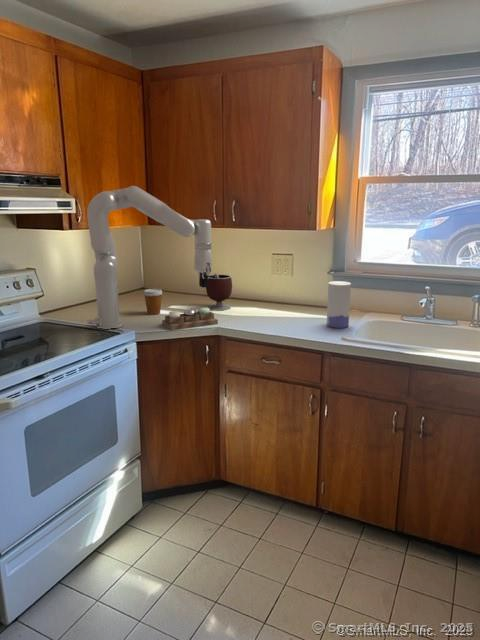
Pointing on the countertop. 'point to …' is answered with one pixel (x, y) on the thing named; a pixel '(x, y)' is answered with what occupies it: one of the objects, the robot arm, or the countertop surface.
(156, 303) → the disposable coffee cup
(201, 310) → the sage button
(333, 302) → the container
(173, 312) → the cream button
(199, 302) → the countertop surface
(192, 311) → the grey button
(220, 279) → the mate gourd
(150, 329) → the countertop surface
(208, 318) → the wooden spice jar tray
